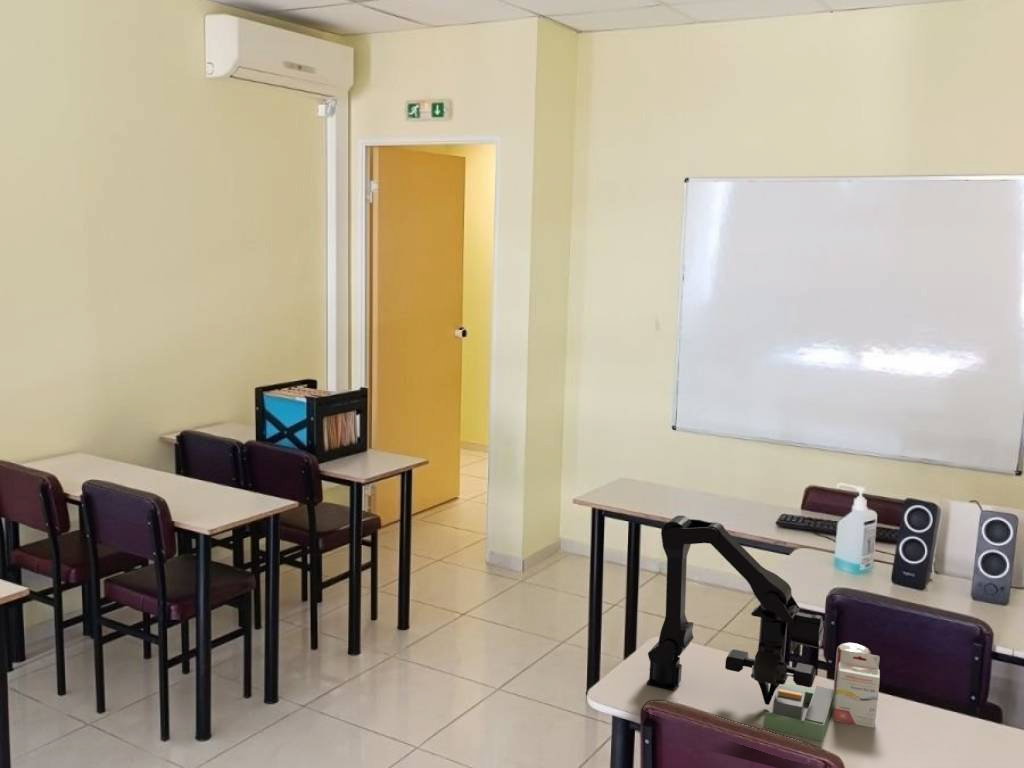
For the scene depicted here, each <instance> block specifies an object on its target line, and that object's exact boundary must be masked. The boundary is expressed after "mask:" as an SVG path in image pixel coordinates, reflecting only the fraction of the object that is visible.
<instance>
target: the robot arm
mask: <svg viewBox="0 0 1024 768" xmlns="http://www.w3.org/2000/svg"><path fill="white" fill-rule="evenodd" d="M660 531H661V532H660V534H661V535H660V536H661V541H662V542H661V543H662V548H663V550H664V553H665V555H666V591H665V593H666V595H665V617H664V621H663V623H662V626H661V629H660V634H659V637H658V642H656V643H655V645H654V646H653V647H652V648H651V649H650V650H649V651H648V653H647V656H648V659H649V660H648V661H649V676H648V680H647V681H646V685H648V686H653V687H656V688H662V689H665V690H670V691H674V690H675V689H676V688H677V686H678V685H679V684H680V682H681V681H682V672H683V671H682V670H683V669H682V667H683V665H682V663H681V657H680V656H681V655H682V654H683V653H684V651H685V650H686V649H687V648H688V647H689V645H690V643H692V641H693V639H694V635H693V629H694V622H692V621H688V618H687V616H686V596H687V595H686V594H687V593H686V592H687V589H686V588H687V564H688V563H687V562H688V561H687V559H688V554H689V551H690V549H691V545H695V544H696V545H697V544H710V545H711V546H712V547H713V548H714V549H715V550H716V551H717V553H719V554H720V555H721V556H722V557H723V559H725V561H727V562H728V563H729V564H730V565H731V567H733V568H734V569H735V571H736V572H737V573H738V574H740V576H741V577H743V579H745V581H746V582H747V583H748V586H749V587H750V588H751V590H752V593H753V595H754V596H755V598H756V599H757V601H758V602H759V606H757V607H755V608H754V609H753V610H752V612H751V614H750V615H751V616H752V617H757V618H760V621H759V622H760V623H759V633H758V634H759V636H758V648H757V652H756V654H755V655H754V658H749V652H748V651H744V650H739V649H731V650H730V651H729V653H728V655H727V656H726V658H725V664H724V667H725V669H726V670H727V671H732V672H737V673H740V672H741V671H743V669H744V667H745V668H746V667H747V668H751V674H750V676H751V678H752V679H753V680H754V681H756V682H757V683H758V685H759V687H760V691H761V695H762V698H763V701H764V704H765V705H767V706H769V705H770V704H771V701H772V699H773V696H774V694H775V693H776V691H777V688H778V686H779V684H782V685H783V684H786V682H787V680H788V677H792V681H793V682H794V683H795V686H799V687H804V688H812V687H813V684H814V682H815V679H816V673H817V672H816V671H817V670H816V667H815V666H814V665H811V664H806V663H801V662H797V664H796V665H795V667H793V666H789V665H788V662H785V657H786V656H785V655H786V646H787V645H786V644H787V636H788V638H789V641H791V642H792V643H793V644H797V645H801V646H805V647H810V648H811V647H812V648H816V649H820V648H821V647H822V643H823V638H824V631H825V630H824V629H825V628H824V622H823V615H819V614H809V613H805V612H800V607H799V605H798V603H797V601H796V600H795V599H794V597H793V594H792V587H791V586H790V584H789V583H788V581H785V580H784V579H783V578H781V576H779V575H778V574H777V573H774V572H772V571H770V570H768V569H766V568H765V567H763V566H762V565H761V564H760V563H759V562H758V561H757V560H756V559H755V558H754V557H753V556H752V555H751V554H750V553H749V552H748V551H747V550H746V549H745V548H744V547H743V546H742V545H741V544H740V542H739V541H738V540H736V539H735V537H733V536H732V535H731V534H730V533H729V532H728V531H727V530H726V528H725V527H724V525H723V524H721V523H719V522H709V521H706V520H702V519H701V520H700V519H694V518H693V519H691V518H689V517H687V516H686V515H685V516H684V515H676V516H674V517H673V518H671V519H670V520H669V521H668V522H666V523H665V524H663V526H662V528H661V530H660ZM787 629H788V630H787Z"/></svg>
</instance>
